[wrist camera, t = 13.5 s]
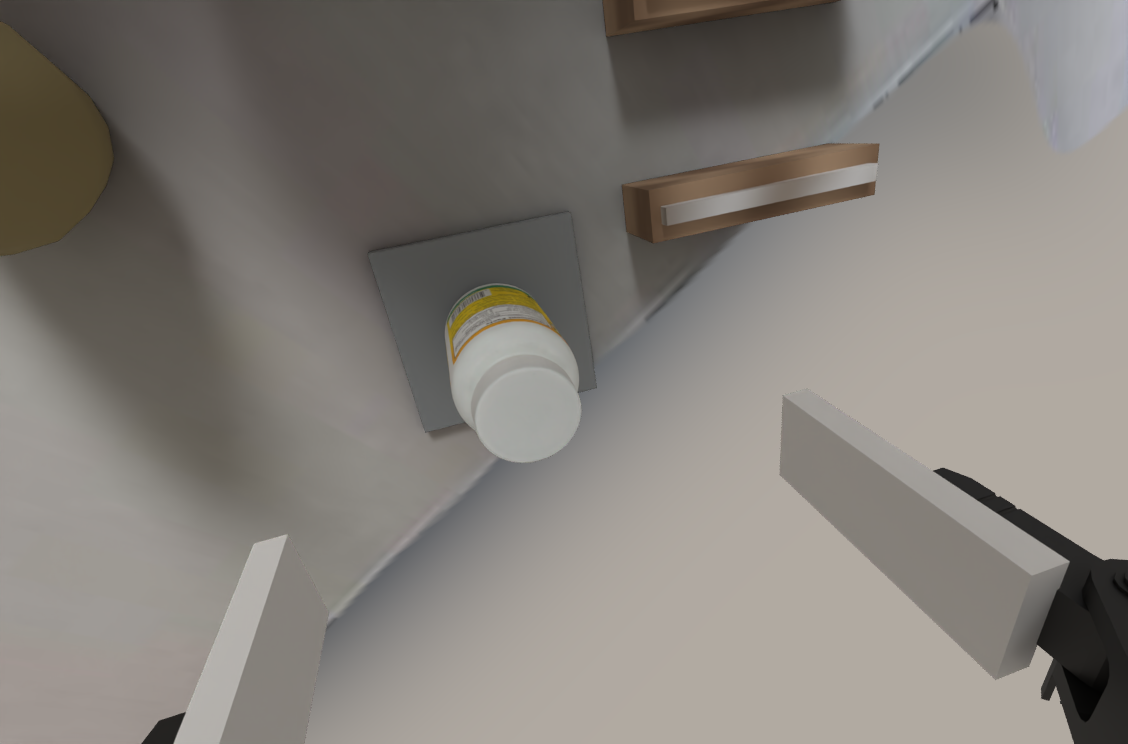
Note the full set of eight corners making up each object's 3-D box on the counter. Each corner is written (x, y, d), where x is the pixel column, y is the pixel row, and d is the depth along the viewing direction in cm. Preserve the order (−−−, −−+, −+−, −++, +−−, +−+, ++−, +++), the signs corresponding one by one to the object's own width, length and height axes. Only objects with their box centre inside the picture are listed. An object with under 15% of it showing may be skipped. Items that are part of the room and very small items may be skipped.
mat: (425, 427, 29) (425, 432, 29) (368, 252, 25) (367, 254, 25) (593, 383, 31) (596, 387, 30) (568, 211, 27) (571, 212, 26)
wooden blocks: (626, 231, 28) (658, 245, 24) (599, -28, 23) (634, -61, 19) (825, 189, 30) (883, 195, 26) (839, -60, 25) (914, -95, 21)
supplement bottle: (451, 273, 26) (467, 337, 17) (555, 289, 27) (615, 356, 19) (437, 372, 28) (445, 475, 19) (534, 383, 29) (582, 481, 21)
